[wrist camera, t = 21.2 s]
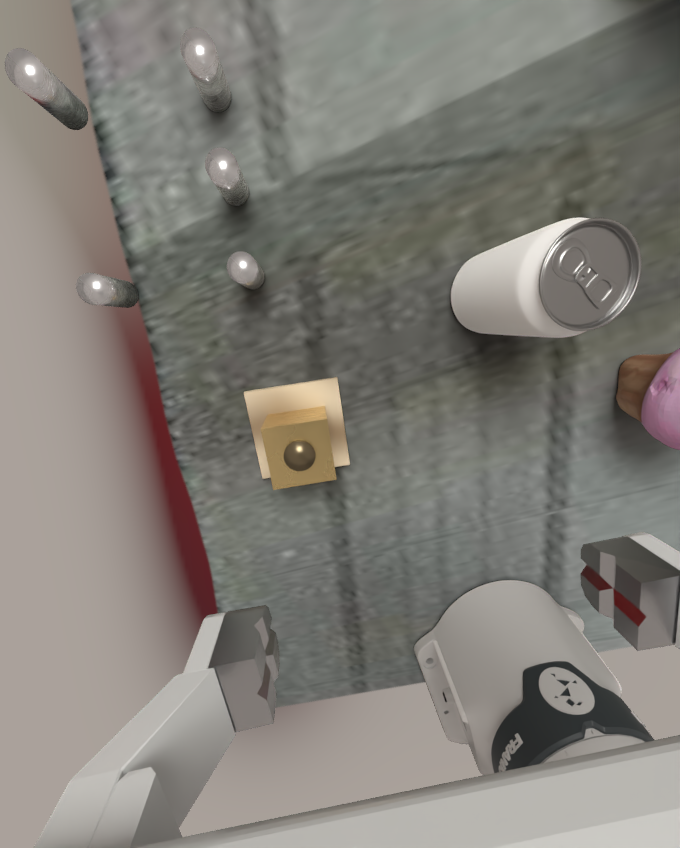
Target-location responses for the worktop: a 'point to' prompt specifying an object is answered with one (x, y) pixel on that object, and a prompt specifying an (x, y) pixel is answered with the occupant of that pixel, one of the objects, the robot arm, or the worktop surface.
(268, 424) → the cube with brass knob
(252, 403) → the coaster
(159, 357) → the worktop surface
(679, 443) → the cupcake
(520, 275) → the can
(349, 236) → the worktop surface
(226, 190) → the spacer posts
